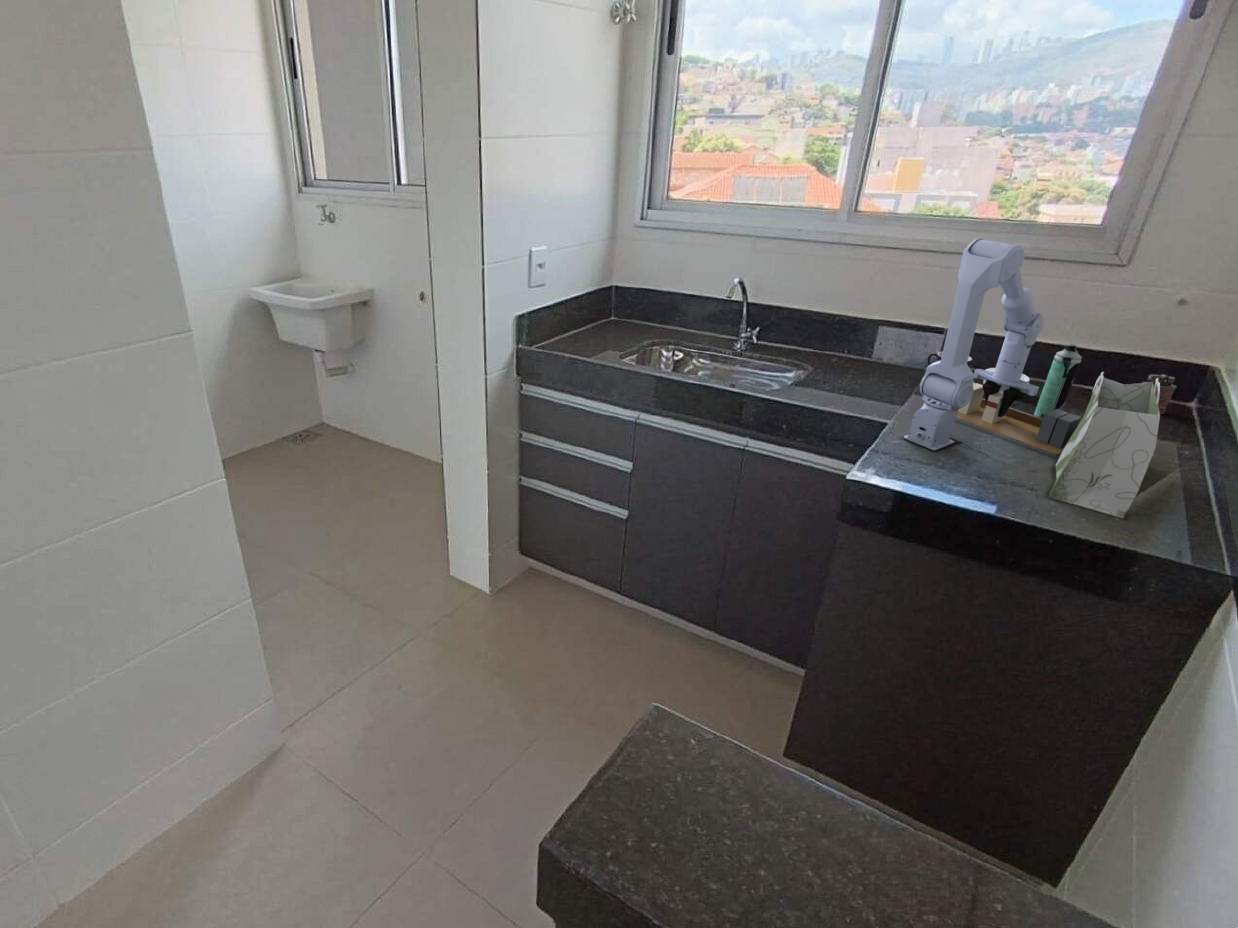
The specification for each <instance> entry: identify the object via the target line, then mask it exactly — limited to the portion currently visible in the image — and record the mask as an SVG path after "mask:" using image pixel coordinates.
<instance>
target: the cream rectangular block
mask: <svg viewBox="0 0 1238 928" xmlns="http://www.w3.org/2000/svg"><path fill="white" fill-rule="evenodd" d="M974 383H975V384H973V389H974V392H973V396H972V398H971V400H970V401H969V403H968V404H967V405H966V406H964V407H963V408H961V409H959V410H958V412H960V413H963V414H966V415H967V414H969V413H972V412H975V411H978V410H979V407H980V404H981V401H982V398H984V395H985V394H984V390H983V387H982V386H983V384H981V383H978V382H974Z"/></svg>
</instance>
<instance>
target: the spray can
mask: <svg viewBox="0 0 1238 928" xmlns="http://www.w3.org/2000/svg"><path fill="white" fill-rule="evenodd" d="M1078 352H1079V351H1078V350H1077V345H1076V344H1068V345H1067V347H1065V348H1063V350H1061V351H1056V353H1055V355H1054V357H1053V360H1052V362H1051V366H1050V369H1049V370H1048V373H1047V377H1046V379H1045V382H1044V385H1043V388H1042V391H1041V394H1040V396H1039V399H1038V402H1037V405H1036V407H1035V411H1034V413H1033V415H1035V416H1038V417H1041V418H1044V416H1045V414H1046V413H1049V412H1051V411H1053V410H1056V409H1059V410H1062V411H1064V407H1065V405H1066V403H1067V400H1068V396H1069V394H1070V391H1071V389H1072V386H1073V384H1074V381H1075V378H1076V376H1077V373H1078V370H1079V367H1080V365H1081V363H1082V358H1083V356H1082V355H1080V354H1079V353H1078Z"/></svg>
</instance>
